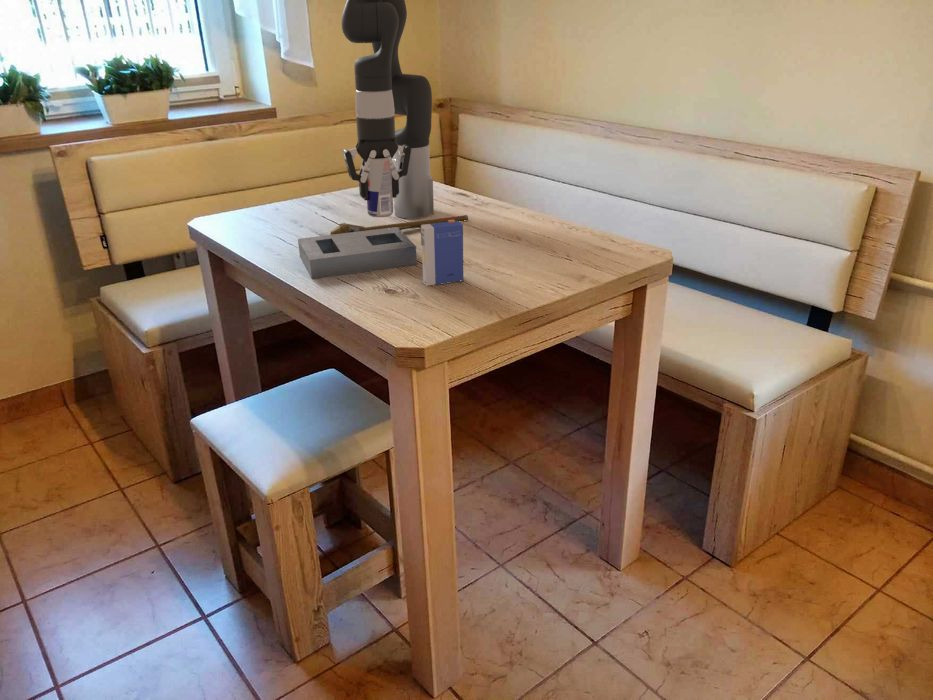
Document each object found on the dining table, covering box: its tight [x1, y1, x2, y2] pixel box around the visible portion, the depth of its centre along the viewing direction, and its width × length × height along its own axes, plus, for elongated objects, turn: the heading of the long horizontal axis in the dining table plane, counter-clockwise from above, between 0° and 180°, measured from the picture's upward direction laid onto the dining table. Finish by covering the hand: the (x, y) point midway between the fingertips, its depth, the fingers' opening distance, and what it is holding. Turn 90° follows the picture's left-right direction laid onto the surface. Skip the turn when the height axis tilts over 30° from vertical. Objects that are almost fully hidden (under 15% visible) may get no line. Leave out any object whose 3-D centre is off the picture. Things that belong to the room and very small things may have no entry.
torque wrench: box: [329, 214, 469, 235], centre depth 176 cm, size 5×35×5 cm
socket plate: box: [297, 227, 418, 280], centre depth 158 cm, size 22×14×4 cm, turn 111°
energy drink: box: [365, 157, 394, 218], centre depth 154 cm, size 5×5×12 cm
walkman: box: [420, 220, 464, 287], centre depth 145 cm, size 8×3×12 cm, turn 110°
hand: (379, 197), depth 155 cm, fingers closed on energy drink, 5 cm apart
